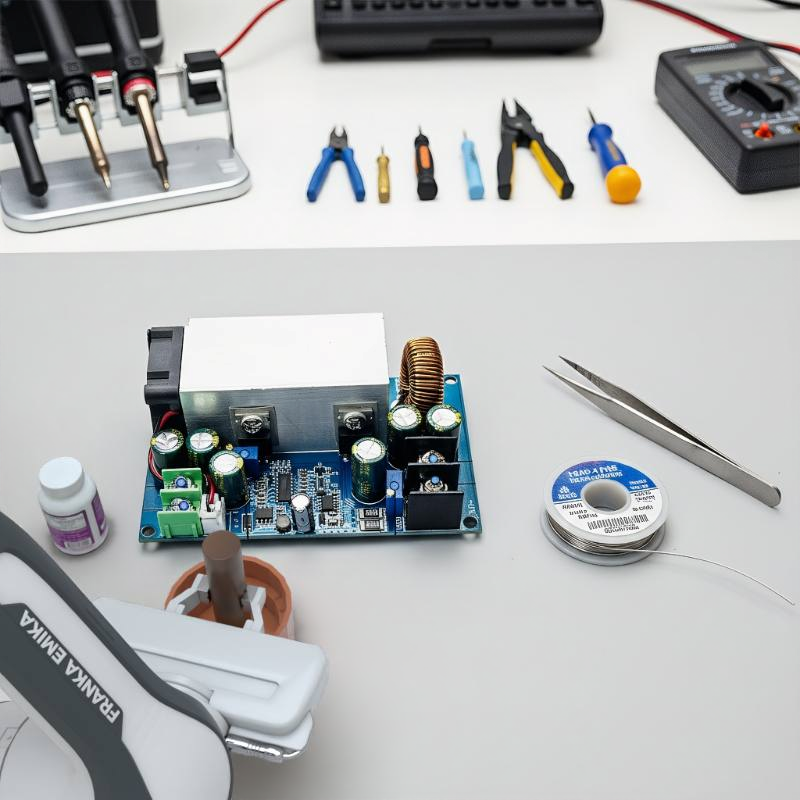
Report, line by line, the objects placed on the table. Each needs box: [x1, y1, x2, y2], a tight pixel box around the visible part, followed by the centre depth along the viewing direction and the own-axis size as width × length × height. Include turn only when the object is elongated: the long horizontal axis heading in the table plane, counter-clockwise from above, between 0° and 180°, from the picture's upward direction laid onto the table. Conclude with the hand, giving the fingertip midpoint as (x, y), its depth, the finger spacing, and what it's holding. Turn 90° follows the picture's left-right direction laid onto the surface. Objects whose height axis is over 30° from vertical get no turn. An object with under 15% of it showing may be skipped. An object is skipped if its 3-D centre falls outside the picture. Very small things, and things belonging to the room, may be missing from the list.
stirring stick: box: [201, 529, 251, 628], centre depth 83 cm, size 3×3×15 cm
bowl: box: [164, 554, 296, 641], centre depth 89 cm, size 11×11×6 cm
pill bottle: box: [37, 456, 109, 556], centre depth 96 cm, size 5×5×10 cm
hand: (232, 584), depth 83 cm, fingers closed on stirring stick, 3 cm apart
